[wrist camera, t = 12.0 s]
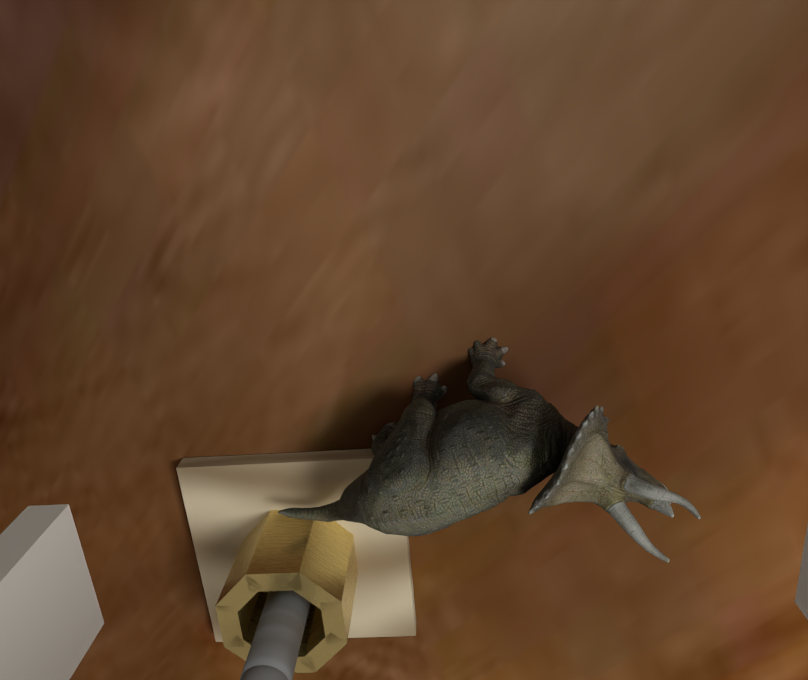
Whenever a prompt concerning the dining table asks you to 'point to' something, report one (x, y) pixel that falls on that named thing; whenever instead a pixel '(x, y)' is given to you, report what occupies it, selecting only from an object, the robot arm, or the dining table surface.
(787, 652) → the dining table surface
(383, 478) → the dinosaur figurine
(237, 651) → the sleeve
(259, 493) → the post board
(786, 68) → the dining table surface
